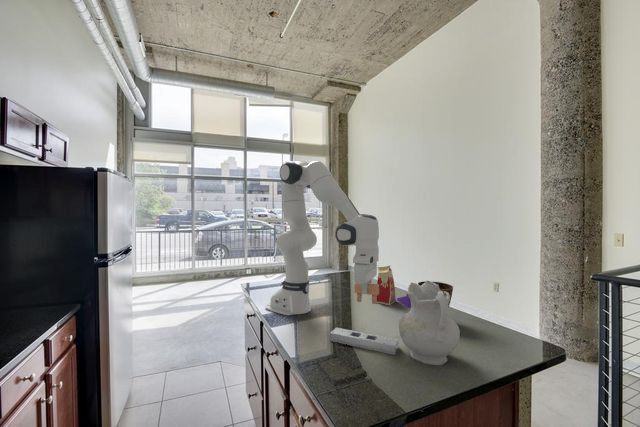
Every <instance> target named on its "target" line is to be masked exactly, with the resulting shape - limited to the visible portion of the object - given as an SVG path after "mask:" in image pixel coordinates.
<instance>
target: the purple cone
mask: <svg viewBox="0 0 640 427" xmlns="http://www.w3.org/2000/svg"><path fill="white" fill-rule="evenodd" d="M396 302H399V304H401V305H404V306H405V307H407V308H411V301H410V298H409V296H408V293H406V295H404V296H400V297H396Z"/></svg>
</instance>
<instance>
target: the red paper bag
mask: <svg viewBox="0 0 640 427" xmlns="http://www.w3.org/2000/svg"><path fill="white" fill-rule="evenodd" d="M376 284H378V285H379V294H378V295H377V304H381V305H386V306H391V305H393V304H394V303H396V302H397V295H396V287H395V279H394V274H393V270H392V269H391V265H386V266H377V283H376Z"/></svg>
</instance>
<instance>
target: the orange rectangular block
mask: <svg viewBox="0 0 640 427" xmlns="http://www.w3.org/2000/svg"><path fill="white" fill-rule="evenodd" d="M367 288H368V292H367V293H366V294H365V293H363V292H362V285H357V284H356V283H355V282H354V293H355V294H356V301H357V303H361V302H362V296H363V295H368V296H369V295H370V296H371V304H374V305H377V304H378V303H377V295H378V294H379V285H378V284H377V283H371V284H369V283H368V284H367Z"/></svg>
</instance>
